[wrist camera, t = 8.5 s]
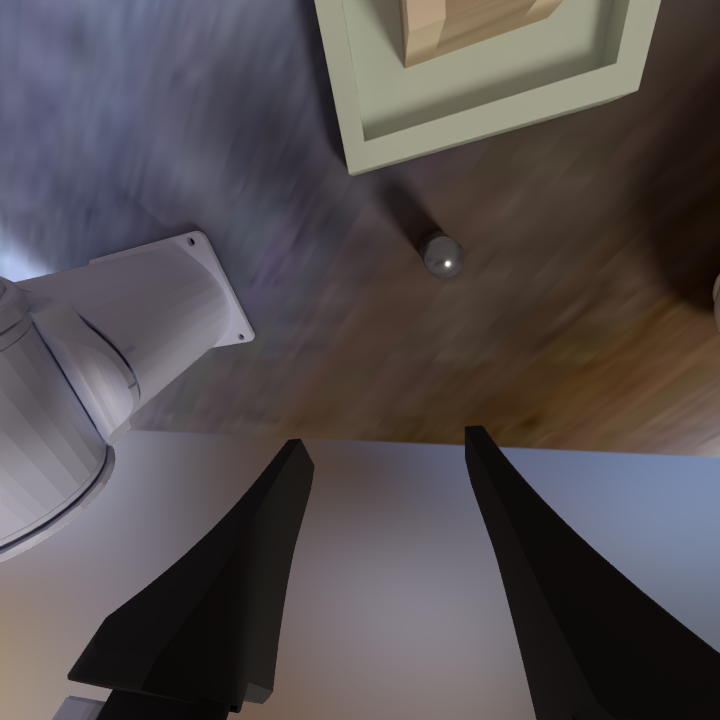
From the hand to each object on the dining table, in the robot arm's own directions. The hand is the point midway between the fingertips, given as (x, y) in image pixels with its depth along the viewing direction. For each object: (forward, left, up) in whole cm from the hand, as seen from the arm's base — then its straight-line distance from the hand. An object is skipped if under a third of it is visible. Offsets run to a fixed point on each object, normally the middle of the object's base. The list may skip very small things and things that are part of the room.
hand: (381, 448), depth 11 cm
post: (+4, +6, -10) cm, 12 cm away
